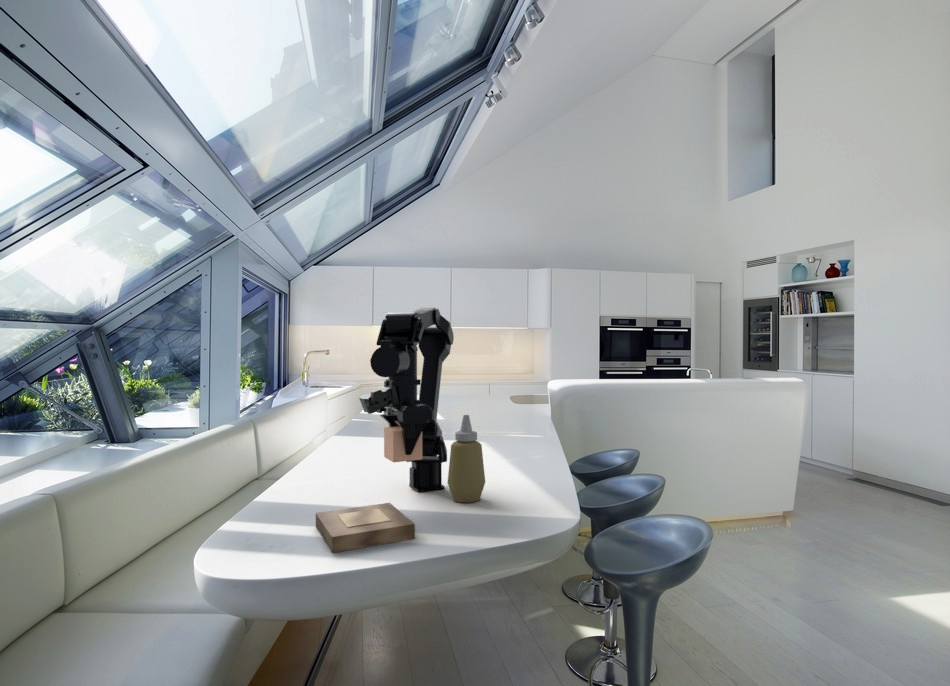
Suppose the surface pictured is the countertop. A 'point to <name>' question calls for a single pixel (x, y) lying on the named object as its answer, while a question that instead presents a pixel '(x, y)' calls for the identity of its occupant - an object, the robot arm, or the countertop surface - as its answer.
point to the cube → (399, 446)
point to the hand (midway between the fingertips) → (403, 451)
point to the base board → (363, 526)
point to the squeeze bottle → (466, 465)
